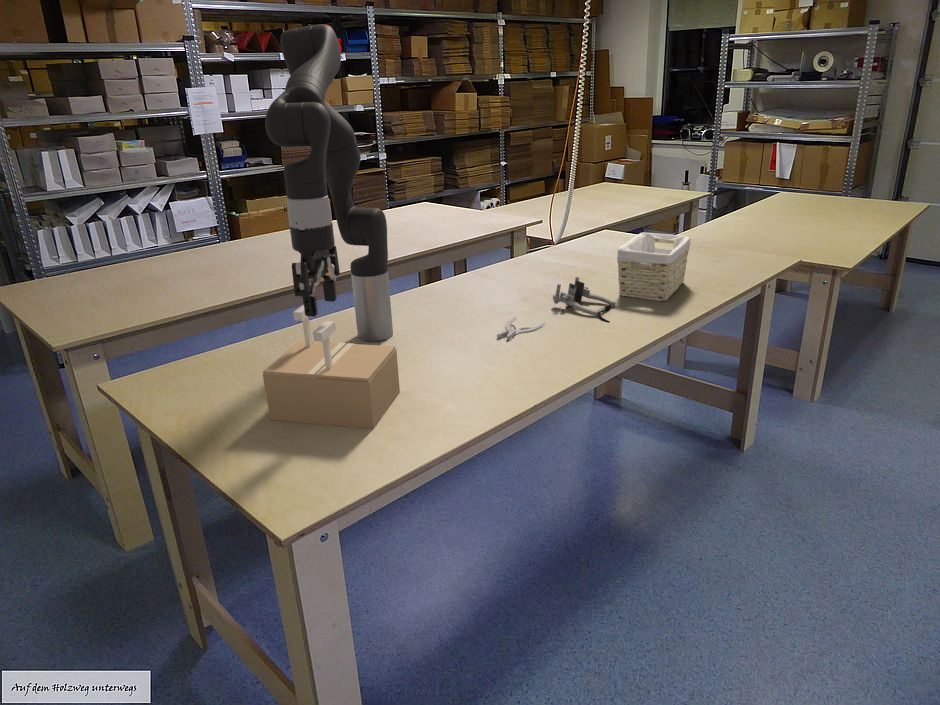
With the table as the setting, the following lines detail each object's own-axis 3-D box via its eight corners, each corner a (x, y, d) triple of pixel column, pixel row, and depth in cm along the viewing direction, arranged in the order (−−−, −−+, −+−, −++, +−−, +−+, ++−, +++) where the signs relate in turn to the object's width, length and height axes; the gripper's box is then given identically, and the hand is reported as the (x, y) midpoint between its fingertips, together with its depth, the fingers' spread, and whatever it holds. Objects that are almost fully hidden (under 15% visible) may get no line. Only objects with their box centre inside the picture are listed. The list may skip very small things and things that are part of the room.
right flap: (347, 346, 141) (343, 305, 137) (395, 349, 138) (392, 307, 135) (315, 377, 126) (309, 332, 123) (368, 381, 124) (363, 335, 121)
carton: (306, 384, 148) (294, 302, 140) (400, 391, 143) (393, 306, 135) (270, 419, 133) (255, 330, 125) (373, 428, 128) (364, 336, 120)
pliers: (546, 319, 177) (520, 338, 165) (545, 325, 178) (520, 344, 166) (513, 314, 182) (485, 332, 170) (513, 319, 182) (486, 337, 171)
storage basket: (666, 304, 189) (671, 254, 183) (612, 297, 197) (614, 248, 191) (688, 282, 208) (692, 235, 202) (637, 276, 215) (640, 231, 210)
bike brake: (547, 305, 189) (606, 330, 178) (550, 283, 186) (611, 307, 175) (573, 294, 199) (632, 317, 187) (577, 272, 195) (637, 295, 184)
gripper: (308, 213, 125) (319, 295, 131) (272, 230, 112) (285, 320, 119) (346, 214, 123) (354, 297, 130) (312, 231, 111) (324, 322, 117)
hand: (321, 308), depth 124 cm, fingers open, 8 cm apart
